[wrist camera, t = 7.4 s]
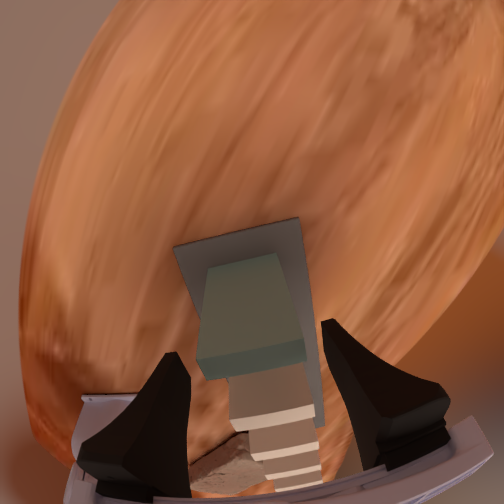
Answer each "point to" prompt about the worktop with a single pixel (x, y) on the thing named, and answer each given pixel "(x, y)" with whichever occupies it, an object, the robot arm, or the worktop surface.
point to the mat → (294, 269)
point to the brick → (227, 469)
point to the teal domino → (248, 320)
